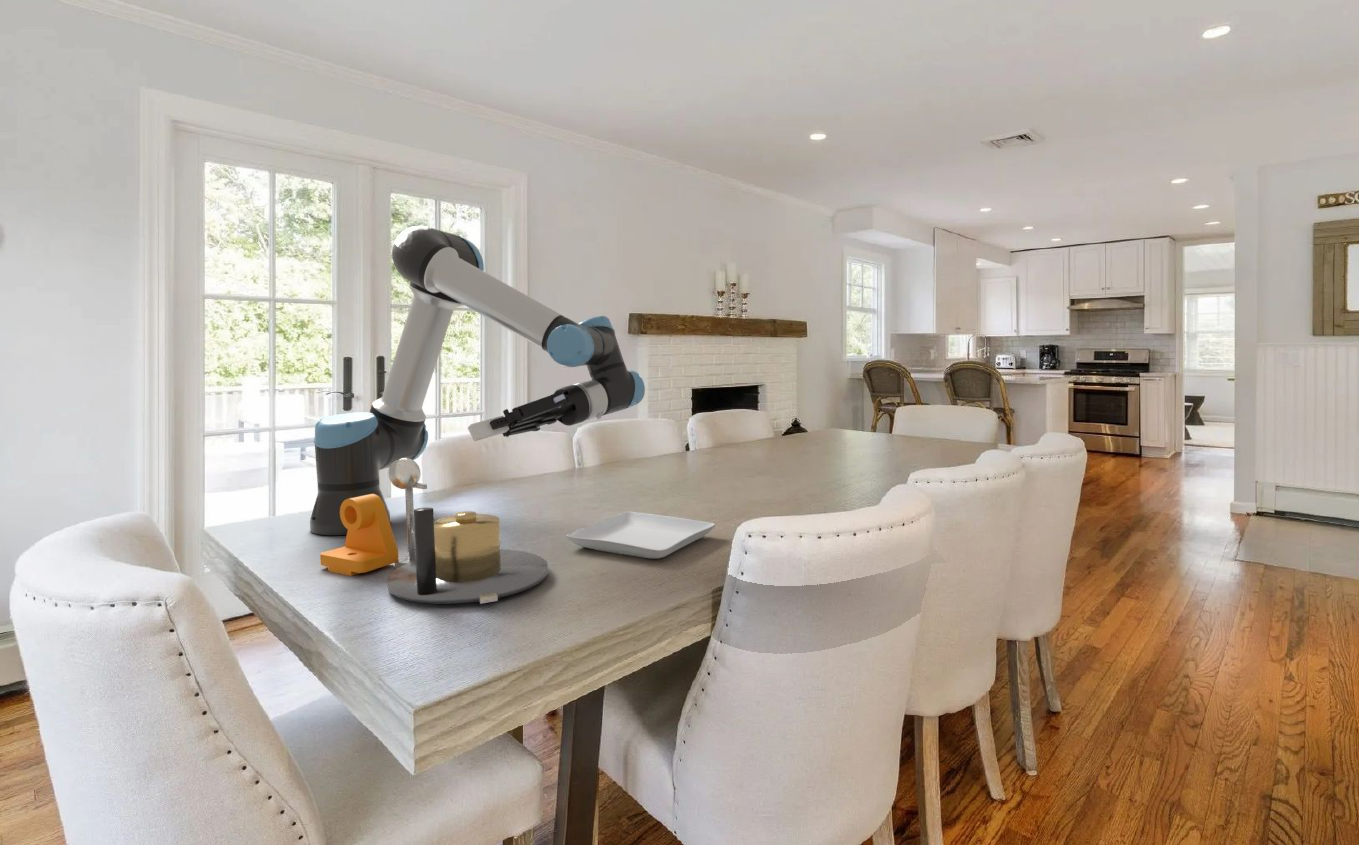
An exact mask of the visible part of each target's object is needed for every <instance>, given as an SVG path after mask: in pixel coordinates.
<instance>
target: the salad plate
mask: <svg viewBox="0 0 1359 845" xmlns="http://www.w3.org/2000/svg"><path fill="white" fill-rule="evenodd" d="M715 527H716V523H714V522H708V521H702V520H696V519H689V518H682V517H676V516H668V515H663V514H662V515H661V514H655V513H654V514H653V513H644V512H637V511H636V512H635V511H630V510H629V511H628V510H627V511H624V512H621V513H618V514H616V515H613V516H610V517H607V518H605V519H603V520H599V521H597V522H595V523H592V524H590V525H587V526H584V527H583V528H579V529H577V530H575V531H571V532H569V533H567V534H566V535H565V537H566V539H567V540H568V541H569V542H571V543H572V544H574V545H576V546H578V547H582V548H587V549H591V550H593V549H594V551H599V552H605V553H606V552H607V553H611V554H617V553H618V554H619V555H623V554H624V556H625V555H626V556H632V557H635V558H637V557H638V558H645V559H661V558H664V557H667V556H668V555H670V554H672V553H674V552H676V551H677V550H680V549H681V548H684V547H686V546H688V545H689V544H692V543H693V542H695V541H697V540H700V539H701V538H703V537H705V536H706V535H707V534H709V533H710V532H712V530H713V529H714V528H715Z"/></svg>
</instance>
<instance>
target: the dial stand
mask: <svg viewBox="0 0 1359 845" xmlns="http://www.w3.org/2000/svg"><path fill="white" fill-rule="evenodd" d="M387 474H388V478H389V480H390V482H391V484H392V485H393V486H394V487H396V488H398V489H401V490H404V495H405V515H406V516H405V518H406V539H407V542H406V543H407V556H404V557H403V558H401V559H399V561H397V562H395V563H394V569H395V570H396V569H397V568H399V567H401V566H403V565H405V564H407V563H410V562H413V561H416V551H415V528H414V509H415V507H414V488H416V489H421V490H427V489H428V484H427V483H421V482H420V478H421V469H420V466H419V464H418V463H417V462H416V461H415V460H412V459H409V458H402V459H399V460H396V461H394V462H393V463H392V464H391V466H390V467H389V468H388V473H387Z"/></svg>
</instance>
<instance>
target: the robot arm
mask: <svg viewBox="0 0 1359 845" xmlns="http://www.w3.org/2000/svg"><path fill="white" fill-rule="evenodd" d="M391 250H392V251H391V255H392V256H391V258H392V261H393V262H392V263H393V265H394V267H395V269H396V270H397V272H398V273H399V275H401V277H403V278H404V279H406V280H407V281H409V285H408V287H409V288H410V291H411V292H412V294H413V298H412V300H411V304H410V306H409V310H408V314H407V316H406V320H405V322H404V325H403V329H402V332H401V336H400V339H399V342H398V344H397V347H396V351H395V354H394V358H393V360H392V361H393V362H392V364H391V368H390V371H389V373H388V376H387V380H386V383H385V385H384V390H383V392H382V396H381V397H379V398H378V399H375V400H373V401H372V403H371V406H370V409H369V412H366V411H364V412H363V411H359V412H358V411H357V412H346V413H340V414H339V413H338V414H333V415H329V416H326V417H324V418H321V419H320V420H319V421H317V422H316V424H315V426H314V437H313V443H314V452H315V466H316V467H315V468H316V480H317V482H316V484H317V495H316V498H315V502H314V505H313V509H312V513H311V515H310V516H311V517H309V518H310V519H309V528H310V529H309V531H310V532H311V533H313V534H315V535H319V536H321V535H322V536H345V535H346V536H347V531H348V529H347V528H346V527H345V526H344V525H343V523H342V521H341V518H340V507H341V504H342V502H343V501H344V500H346V499H350V498H355V497H359V496H364V495H369V494H376V495H378V496H379V497H380V498H381V499H382V501H383V503H384V506H385V509H386V513H387V516H388V519H389V522H390V523H391V513H390V510H389V508H388V506H387V505H388V504H387V501H386V500H385V497H384V495H383V492H382V490H381V487H380V486H381V485H380V470H385V469H389V468H390V466H391V464H392V463H393V462H394V461H396V460H399V459H402V458H409V459H412V460H413V461H415V460H416V459H418V458H419V457H420V456H421V455H422V454H423V453H424V451H425V450H426V447H427V445H428V443H429V442H428V441H429V432H428V430H427V425H426V424H425V421H426V418H427V416H426V414H425V412H424V410H423V409H422V408H423V405H424V402H425V398H426V396H427V393H428V389H429V387H430V383H431V380H432V378H433V374H434V372H435V368H436V365H437V362H438V359H439V357H440V356H439V355H440V353H441V350H442V346H443V344H444V340H445V338H446V335H447V331H448V329H449V325H450V324H451V323H450V322H451V319H452V316H453V313H454V311H455V309H457V308H459V307H461V306H465V307H467V308H469V309H470V310H472V311H474V312H476V313H478V314H479V315H481V316H482V317H485V318H486V319H488V320H490V321H492V322H493V323H496V324H497V325H498V326H501V327H503V329H506V330H507V331H509V332H511V333H513V334H515V335H517V337H520V338H522V339H524V340H525V341H527V342H529V343H530V344H533V345H534V346H536V347H538V348H539V349H542V351H544V352H546V353H548V354H549V356H550V358H551V359H553V361H554V362H556V363H557V364H559V365H562V366H566V367H569V368H575V367H576V368H577V367H580V366H581V367H582V366H586V367H587V370H588V373H589V376H590V378H591V379H590V380H589V379H588V380H585V381H581V382H577V383H574V384H569V385H567V386H562V387H559V388H557V389H556V390H555V391H554V393H552V394H550V395H548V396H545V397H542V398H538V399H536V400H534V401H530V402H527V403H525V404H521V405H518V406H516V407H513V408H512V409H511V411H510V412H509V409H508V408H506V409H504V410H503V411H502V412H503V415H500V416H496V417H493V418H489V419H486V420H481V421H478V422H477V421H476V422H474V423H470V424H469V426H468V427H467V430H468V432H469V434H470V436H471V437H472V440H473V442H478V441H481V440H484V439H488V438H491V437H494V436H498V435H501V434H502V435H503V436H502V437H506V438H509V437H510V436H513V435H519V434H523V433H530V432H539V431H540V430H541V426H544V425H552V424H555V423H556V422H560V423H561V424H562V425H565V426H567V427H568V426H574V425H576V424H580V423H583V422H585V421H588V420H593V419H595V418H596V419H597V420H601V419H602V416H607V415H609V414H612V413H616V412H619V411H623V410H626V409H629V408H631V407H634V406H637V405H639V404H640V403H641V402H642V400H643V399H644V397H645V393H646V392H645V391H646V387H645V382H644V380H643V378H642V377H640V375H639V373H638V372H637V371H634V370H632V369H631V370H628V368H627V365H626V363H625V360H624V359H623V354H622V352H621V348H620V346H619V342H618V339H617V337H616V330H615V329H614V328H613V325H612V323H611V321H610V320H611V319H610V318H609V317H607V316H606V315H600V316H595V317H594V316H593V317H591V318H588V319H584V320H582V321H580V322H575V321H574V320H571V319H570V318H569V317H566V316H564V315H562V314H561V313H559V312H558V311H555V310H554V309H552V308H550V307H548V306H546V305H545V304H543V303H541V302H539V301H538V300H536V299H534V298H532V297H530V296H529V295H527V294H525V293H523V292H521V291H519V290H518V289H516V288H515V287H513V286H511V285H509V284H507V283H505V282H503V281H502V280H500V279H499V278H496V277H494V276H492V275H491V274H489V273H487V272H485V271H484V268H485V264H484V260H483V256H482V254H481V253H480V252H481V251H480V250H479V248H478V247H477V246H476V245H475V244H474V242H471V240H468V239H466V238H464V237H462V236H460V235H457V234H455V233H452V232H451V233H450V232H447V231H443V230H439V229H436V228H433V227H430V226H425V225H417V226H416V225H415V226H411V227H408V228H406V229H405V230H403V231H402V232H400V233H399V235H397V237H396V238H395V241H394V242H393V245H392V249H391Z"/></svg>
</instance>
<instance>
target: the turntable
mask: <svg viewBox="0 0 1359 845" xmlns="http://www.w3.org/2000/svg"><path fill="white" fill-rule="evenodd" d="M434 512H435V511H434V508H433V507H428V506H427V507H419V508H414V528H415V551H416V561H413V562H410V563H407V564H405V565H403V566H401V567H399V568H397V569H395V570H394V569H393V571H391V573H390V574H389V575H388V577H387V581H386V582H387V590H388V592H389V593H390V594H392V595H393V596H395V597H397V598H398V599H402V600H404V601H405V600H406V601H409V602H415V603H422V604H438V605H440V604H441V605H442V604H443V605H447V604H466V603H467V604H468V603H474V602H475V603H477V602H478V603H479V604H481V605H482V604H486V603H492V602H498V601H499V600H498V599H500V598H504V597H509V596H511V595H515V594H518V593H521V592H523V591H526V590H529V589H531V588H533V587H535V586H537V585H538V584H540V583H541V582H542V581H544V580H545V578H546V577H547V576H548V573H549V566H548V562H547V560H546V559H544V558H543V557H541V556H539V555H537V554H534V553H531V552H527V551H521V550H515V549H502V548H500V556H501V570H500V571H499V572H498V573H497V574H495V575H493V576H490V577H487V578H484V579H479V580H473V581H464V582H451V581H443V580H440V579H437V578H436V562H435V537H434V521H435V520H434V519H435V516H434V515H435V514H434Z"/></svg>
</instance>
